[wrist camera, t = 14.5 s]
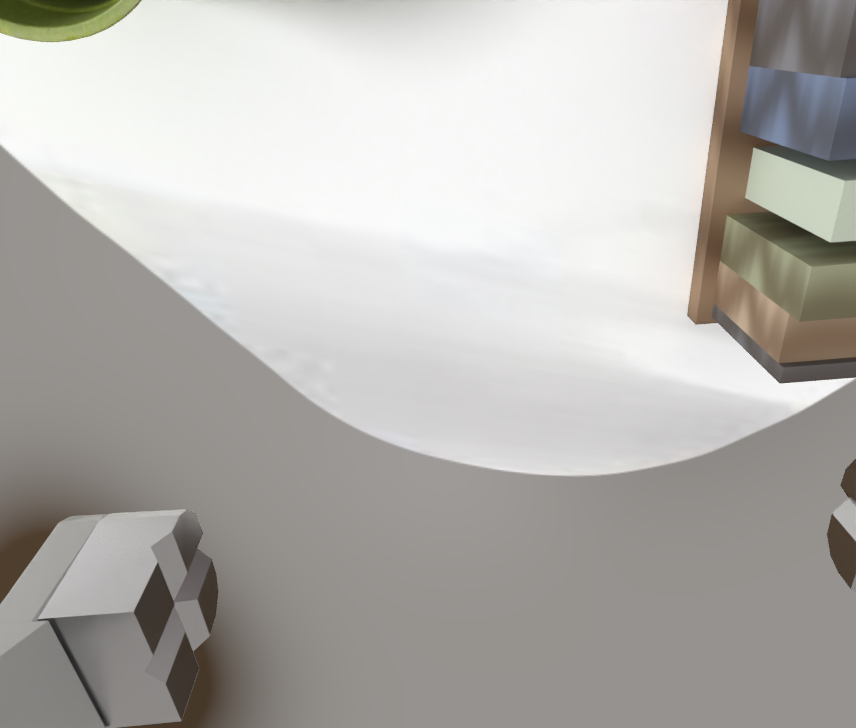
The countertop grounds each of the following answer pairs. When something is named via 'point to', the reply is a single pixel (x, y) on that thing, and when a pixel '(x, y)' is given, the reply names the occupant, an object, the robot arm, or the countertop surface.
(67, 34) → the plant pot
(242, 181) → the countertop surface
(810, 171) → the pale green box
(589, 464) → the countertop surface
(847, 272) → the book rack
